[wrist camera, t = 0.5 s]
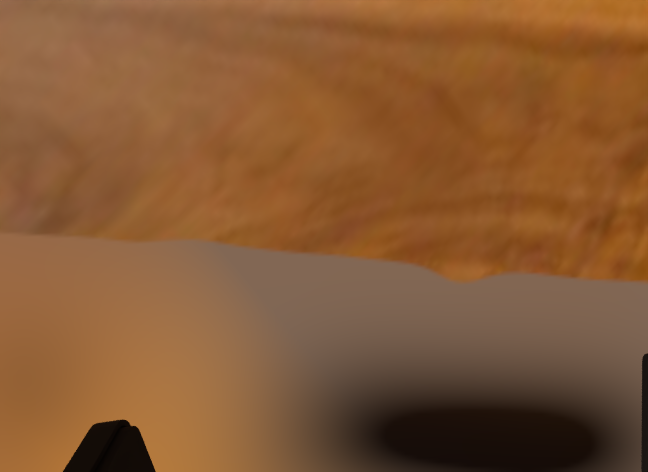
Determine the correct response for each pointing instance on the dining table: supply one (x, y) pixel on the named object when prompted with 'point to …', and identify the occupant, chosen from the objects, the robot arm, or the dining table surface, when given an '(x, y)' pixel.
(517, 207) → the dining table surface
